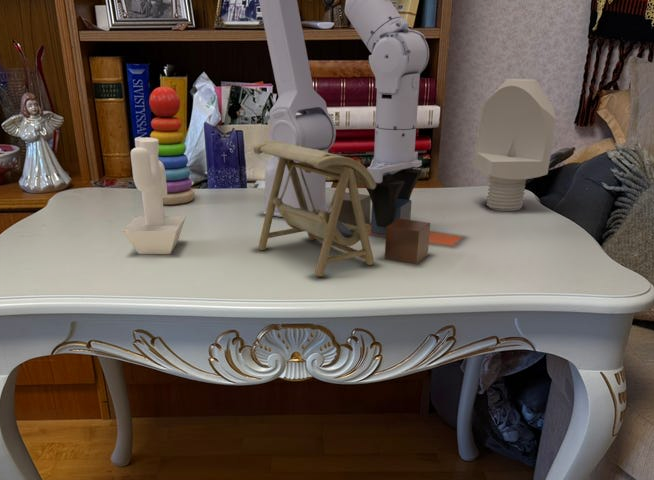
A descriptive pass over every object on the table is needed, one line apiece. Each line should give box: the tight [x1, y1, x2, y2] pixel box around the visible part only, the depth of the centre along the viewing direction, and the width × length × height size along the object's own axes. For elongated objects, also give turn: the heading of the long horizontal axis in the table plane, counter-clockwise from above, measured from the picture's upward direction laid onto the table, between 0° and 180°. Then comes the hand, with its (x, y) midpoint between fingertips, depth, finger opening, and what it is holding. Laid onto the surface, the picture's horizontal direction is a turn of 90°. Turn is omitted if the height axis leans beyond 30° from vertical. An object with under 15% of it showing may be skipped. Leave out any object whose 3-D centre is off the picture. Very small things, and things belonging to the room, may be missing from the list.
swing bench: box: [252, 140, 376, 278], centre depth 86 cm, size 15×10×15 cm, turn 34°
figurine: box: [122, 136, 187, 255], centre depth 90 cm, size 7×9×15 cm
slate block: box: [370, 199, 413, 236], centre depth 99 cm, size 4×4×4 cm
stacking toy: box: [148, 86, 195, 206], centre depth 114 cm, size 8×8×19 cm
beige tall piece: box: [473, 78, 557, 212], centre depth 109 cm, size 9×9×20 cm
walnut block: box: [384, 219, 431, 265], centre depth 89 cm, size 4×4×4 cm
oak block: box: [331, 191, 372, 226], centre depth 102 cm, size 4×4×4 cm
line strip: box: [367, 223, 463, 247], centre depth 100 cm, size 21×5×1 cm, turn 61°
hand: (390, 222), depth 99 cm, fingers closed on slate block, 4 cm apart
